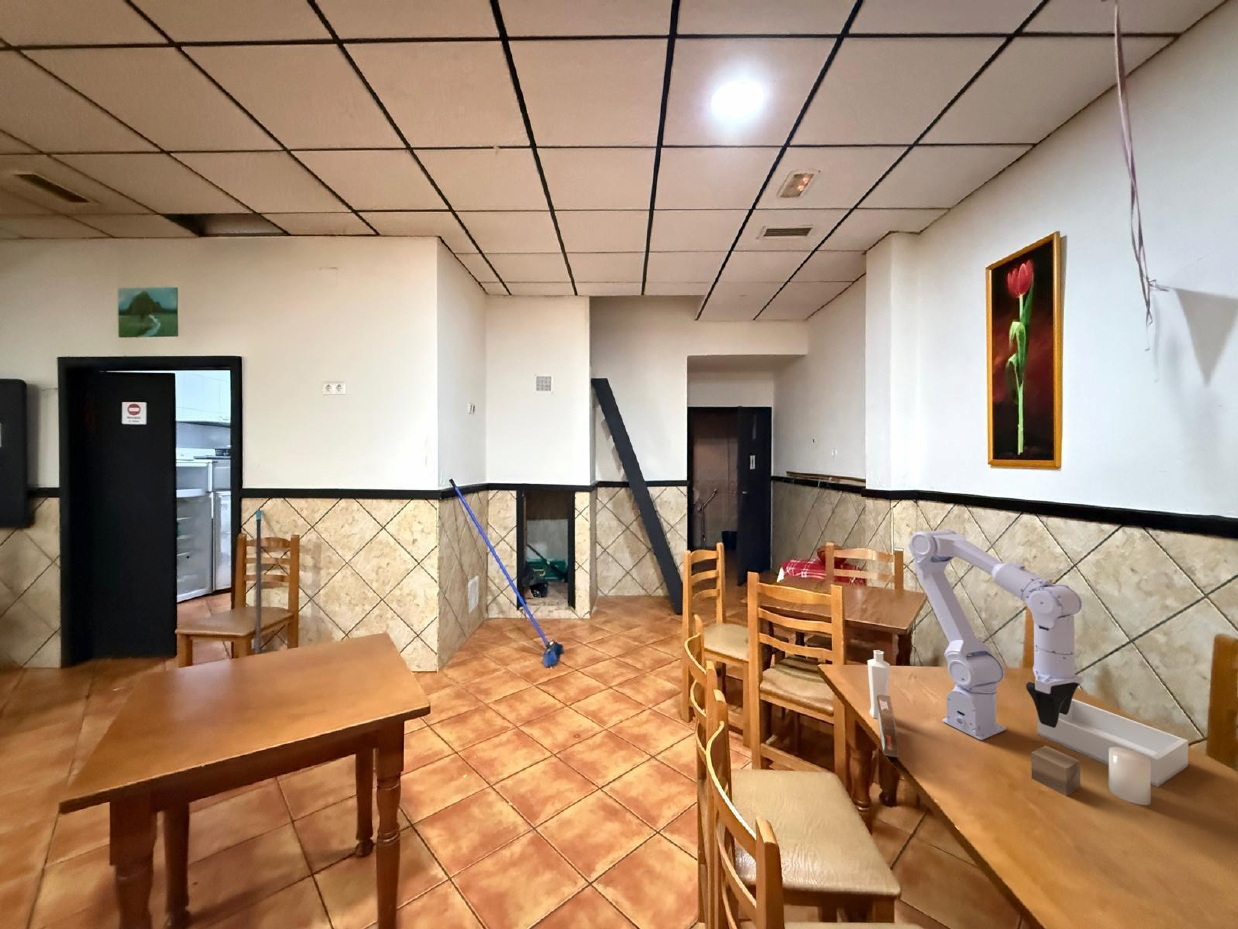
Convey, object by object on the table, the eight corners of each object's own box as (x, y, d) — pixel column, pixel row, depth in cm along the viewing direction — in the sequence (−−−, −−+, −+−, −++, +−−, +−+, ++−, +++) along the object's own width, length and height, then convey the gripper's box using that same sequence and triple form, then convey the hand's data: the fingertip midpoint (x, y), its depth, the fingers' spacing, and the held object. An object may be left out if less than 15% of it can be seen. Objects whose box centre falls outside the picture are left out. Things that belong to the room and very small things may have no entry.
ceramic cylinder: (1143, 809, 79) (1143, 768, 79) (1103, 789, 83) (1103, 751, 83) (1156, 799, 81) (1156, 760, 81) (1116, 781, 85) (1116, 744, 85)
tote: (1157, 787, 84) (1157, 759, 84) (1037, 734, 100) (1037, 711, 100) (1188, 766, 89) (1188, 740, 89) (1070, 719, 105) (1070, 697, 105)
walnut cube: (1066, 796, 82) (1066, 768, 82) (1031, 779, 86) (1031, 752, 86) (1080, 788, 84) (1080, 760, 84) (1045, 771, 89) (1045, 745, 88)
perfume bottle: (870, 708, 111) (870, 646, 111) (891, 715, 108) (891, 651, 108) (864, 715, 108) (864, 652, 108) (885, 723, 105) (885, 657, 105)
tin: (899, 767, 90) (899, 724, 90) (881, 763, 91) (881, 721, 91) (891, 726, 104) (891, 689, 103) (875, 723, 105) (875, 686, 105)
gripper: (1071, 665, 82) (1072, 742, 82) (1092, 646, 90) (1092, 716, 90) (1020, 652, 88) (1021, 723, 88) (1044, 635, 96) (1045, 700, 96)
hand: (1054, 718), depth 89 cm, fingers open, 7 cm apart
